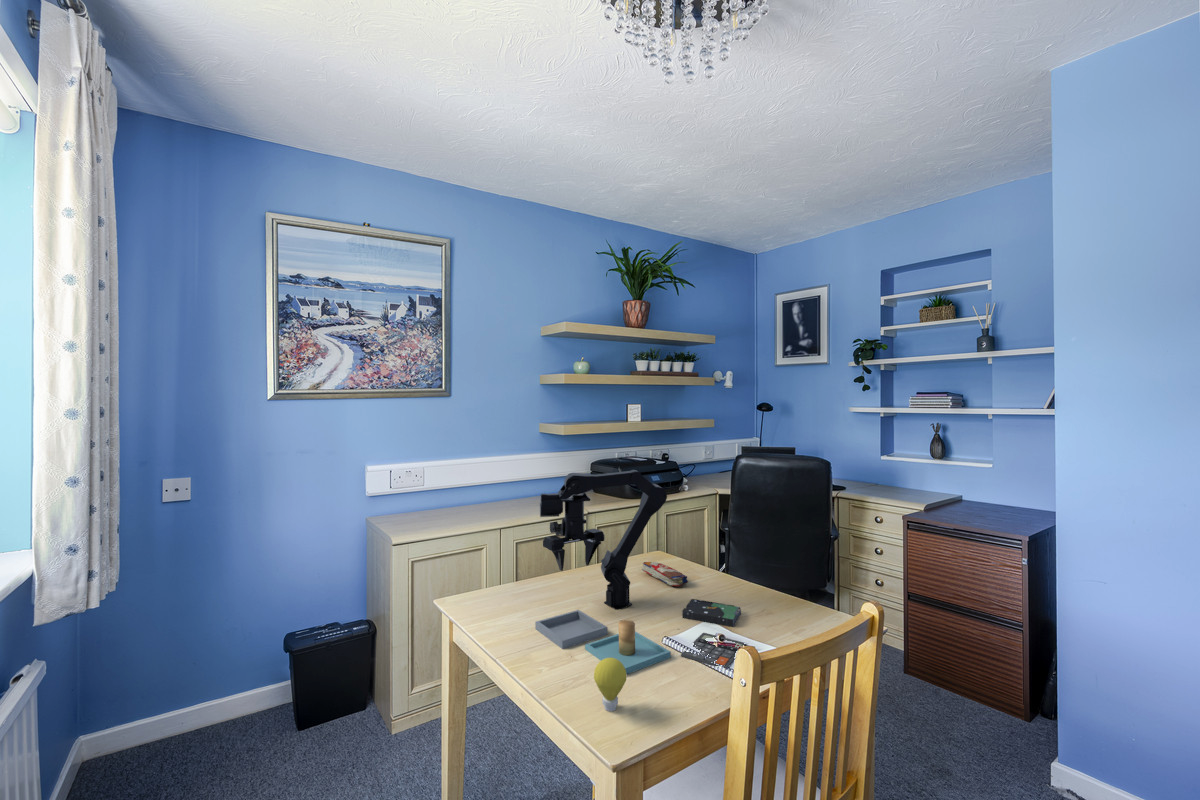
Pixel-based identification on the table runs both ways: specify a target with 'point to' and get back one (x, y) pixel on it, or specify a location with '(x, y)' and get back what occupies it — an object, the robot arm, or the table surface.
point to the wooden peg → (626, 637)
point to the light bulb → (610, 681)
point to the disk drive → (712, 612)
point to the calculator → (713, 651)
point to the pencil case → (665, 573)
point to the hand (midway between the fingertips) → (574, 567)
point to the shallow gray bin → (571, 628)
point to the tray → (643, 656)
